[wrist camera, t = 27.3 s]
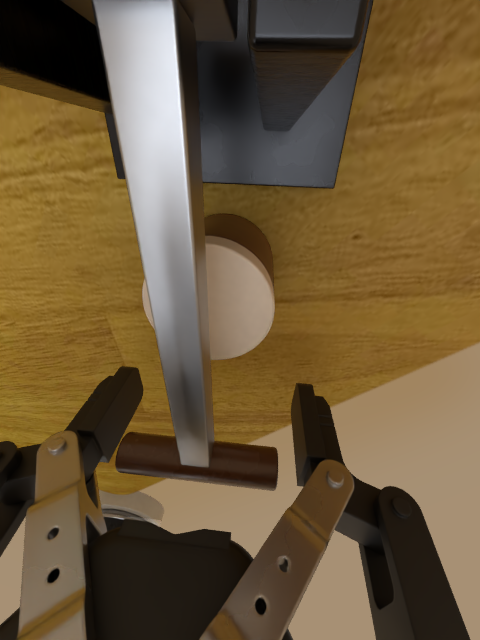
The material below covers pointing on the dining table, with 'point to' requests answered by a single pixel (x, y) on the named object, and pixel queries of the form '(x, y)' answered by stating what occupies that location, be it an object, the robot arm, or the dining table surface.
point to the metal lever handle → (171, 223)
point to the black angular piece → (219, 83)
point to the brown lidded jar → (235, 286)
